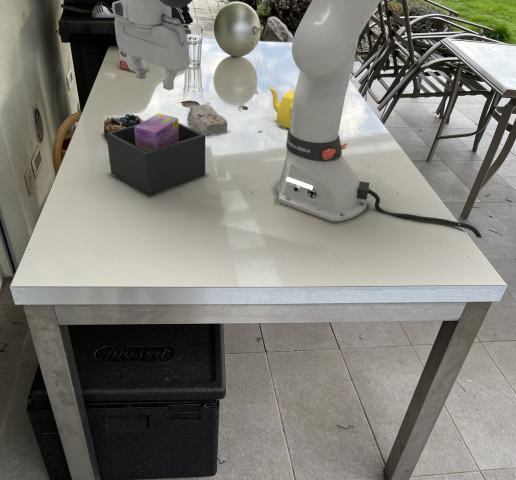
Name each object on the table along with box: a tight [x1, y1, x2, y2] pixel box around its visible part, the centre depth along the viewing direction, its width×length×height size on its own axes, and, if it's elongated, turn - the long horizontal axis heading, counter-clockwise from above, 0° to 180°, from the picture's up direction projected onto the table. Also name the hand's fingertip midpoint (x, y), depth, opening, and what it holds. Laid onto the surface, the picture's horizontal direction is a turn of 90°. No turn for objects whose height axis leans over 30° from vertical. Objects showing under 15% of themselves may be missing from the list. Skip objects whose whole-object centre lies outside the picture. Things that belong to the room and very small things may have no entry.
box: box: [134, 112, 179, 152], centre depth 126 cm, size 10×6×12 cm, turn 156°
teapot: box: [267, 86, 295, 129], centre depth 158 cm, size 14×13×10 cm
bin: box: [106, 122, 206, 197], centre depth 128 cm, size 15×18×10 cm
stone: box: [186, 104, 229, 136], centre depth 154 cm, size 13×6×10 cm
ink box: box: [118, 48, 148, 73], centre depth 186 cm, size 9×5×12 cm, turn 62°
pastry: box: [103, 113, 145, 140], centre depth 144 cm, size 11×12×6 cm
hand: (154, 83), depth 117 cm, fingers open, 8 cm apart
